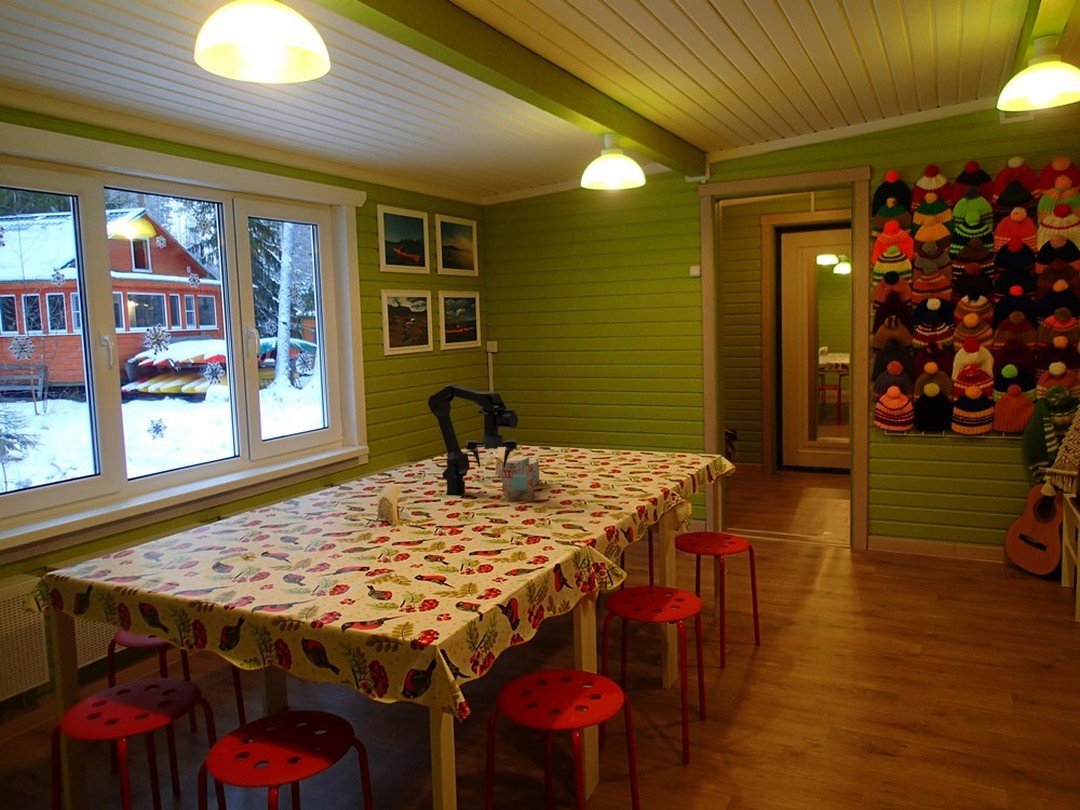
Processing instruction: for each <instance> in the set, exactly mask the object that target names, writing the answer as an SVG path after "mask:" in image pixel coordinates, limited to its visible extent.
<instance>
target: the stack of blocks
mask: <svg viewBox="0 0 1080 810" xmlns="http://www.w3.org/2000/svg"><path fill="white" fill-rule="evenodd" d="M539 466H540V464H539V460H535V459H534V460H533V459H532V460H531V459H530V456H514V457H511V458H509V459H508V458H507V461H506V464H505V467H504V460H503V461H501V478H502V479H501V480H502V493H504V494H505V487H512V486H513V479H512V477H513V475H526V483H527V486H530V485H531V486H532V487H533V486H535V485H537V483H538V484H539V483H540V467H539Z"/></svg>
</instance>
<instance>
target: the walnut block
mask: <svg viewBox="0 0 1080 810" xmlns="http://www.w3.org/2000/svg"><path fill="white" fill-rule="evenodd" d="M535 491H536V490H535V489H534V488H533V486H531V485H530V486H527V489H526V490H524V491H513V486H512V487H505V493H504V497H505V499H506V501H507V503H514V502H530V501H531V502H532V501H534V502H535V500H536V496H535V495H536V494H535V493H536V492H535Z"/></svg>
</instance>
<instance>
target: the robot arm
mask: <svg viewBox="0 0 1080 810" xmlns="http://www.w3.org/2000/svg"><path fill="white" fill-rule="evenodd" d="M455 398H459V399H463V400H467V401H470V402H473V403H476V404H477V405H478V406H480V407H481V409H480V410H479V411H478V414H481V415H483V441H481V442H479V441H478V440H477V439H468V440H467V441H466V442H465V450H466V451H467V450H468V451H469V452H470V453H472V454H473V456H474V458H475V461H476V463H477V466H478V468H480V469H481V460H480V453H479V448H484V449H485V450H489V449H491V450H492V449H493V450H496V449H498V448H504V457H503V461H504V467H505V464H506V461H507V460H508V458H509V455H510V453H511V452H514V450H517V449H518V448H517V445H518V443H517V440H516V439H505V441H504V435H502V434H501V435H500V428H506V429H515V428H516V427H517V426H518V424H519V418H518V415H517V413H516V412H515V411H516V410H515V409H508V408H507V406H506V405H505V402H504V401H503V399H502V397H501V394H500V393H499V392H496V391H479V390H476V389H473V388H472V389H471V388H469V387H464V386H461V385H457V384H448V385H446V386H445V387H444V388H442V389H441V390H440V391H437V392H436V393H435V394H433V395H430V396H429V397H428V400H427V406H428V408H429V410H430V412H431V413H432V415H433V416H434V417H435V418H436V419H437V423H438V425H439V429H440V432H441V436H442V439H443V442H444V446H445V448H446V452H447V457H446V468H445V470H443V472H442V474H441V475H442V478H443V480H446V495H451V496H452V495H453V496H454V495H464V493H465V492H466V480H465V479H464V477H467V474H468V471H469V469H470V465H471V464H470V463H471V461H470V460H469V456H468V455H469V454H468V453H467V452H462V450H461V449H460V444H459V441H458V438H457V435H456V432H455V429H454V425H453V422H452V419H451V415H450V414H451V408H452V407H451V406H452V405H451V402H452V401H453V400H454V399H455Z"/></svg>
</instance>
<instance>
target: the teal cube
mask: <svg viewBox="0 0 1080 810" xmlns="http://www.w3.org/2000/svg"><path fill="white" fill-rule="evenodd" d="M512 479H513V491H524V490H526V489H527V483H526V475H513V477H512Z"/></svg>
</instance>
